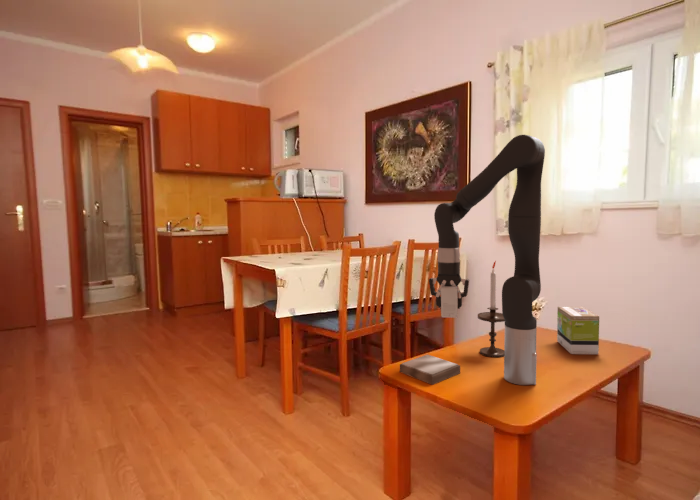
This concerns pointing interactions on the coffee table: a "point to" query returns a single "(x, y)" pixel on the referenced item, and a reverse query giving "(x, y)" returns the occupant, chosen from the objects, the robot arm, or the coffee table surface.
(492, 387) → the coffee table surface
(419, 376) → the tray
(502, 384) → the coffee table surface
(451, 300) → the small box
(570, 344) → the tea box
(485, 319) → the candlestick
